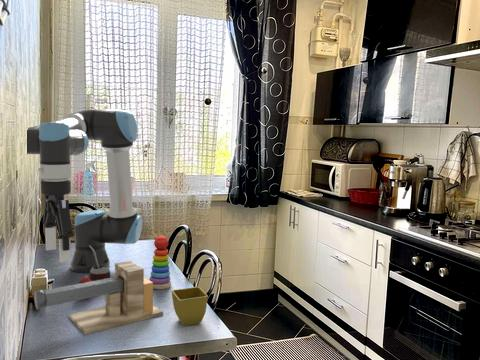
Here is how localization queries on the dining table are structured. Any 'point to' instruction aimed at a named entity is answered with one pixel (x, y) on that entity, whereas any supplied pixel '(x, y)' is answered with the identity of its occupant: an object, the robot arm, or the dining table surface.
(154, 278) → the stacking toy
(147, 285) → the collar
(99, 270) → the mate gourd
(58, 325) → the dining table surface
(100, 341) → the dining table surface
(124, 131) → the robot arm
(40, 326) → the dining table surface
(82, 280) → the onion
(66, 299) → the shaft
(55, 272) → the dining table surface
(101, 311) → the stand
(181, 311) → the flower pot
